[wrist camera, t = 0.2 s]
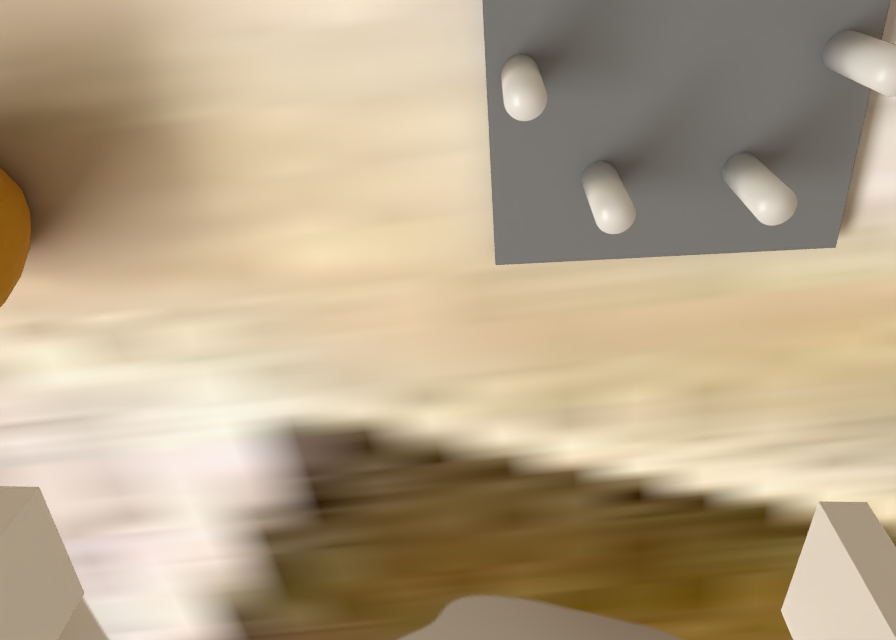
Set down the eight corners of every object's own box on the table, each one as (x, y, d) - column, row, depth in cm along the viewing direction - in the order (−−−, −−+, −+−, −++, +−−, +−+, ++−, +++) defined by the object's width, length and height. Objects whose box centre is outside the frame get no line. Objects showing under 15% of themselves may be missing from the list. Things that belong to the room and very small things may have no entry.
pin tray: (474, -176, 29) (472, -194, 24) (923, -221, 28) (1026, -251, 23) (495, 255, 40) (497, 309, 34) (826, 238, 38) (881, 292, 33)
